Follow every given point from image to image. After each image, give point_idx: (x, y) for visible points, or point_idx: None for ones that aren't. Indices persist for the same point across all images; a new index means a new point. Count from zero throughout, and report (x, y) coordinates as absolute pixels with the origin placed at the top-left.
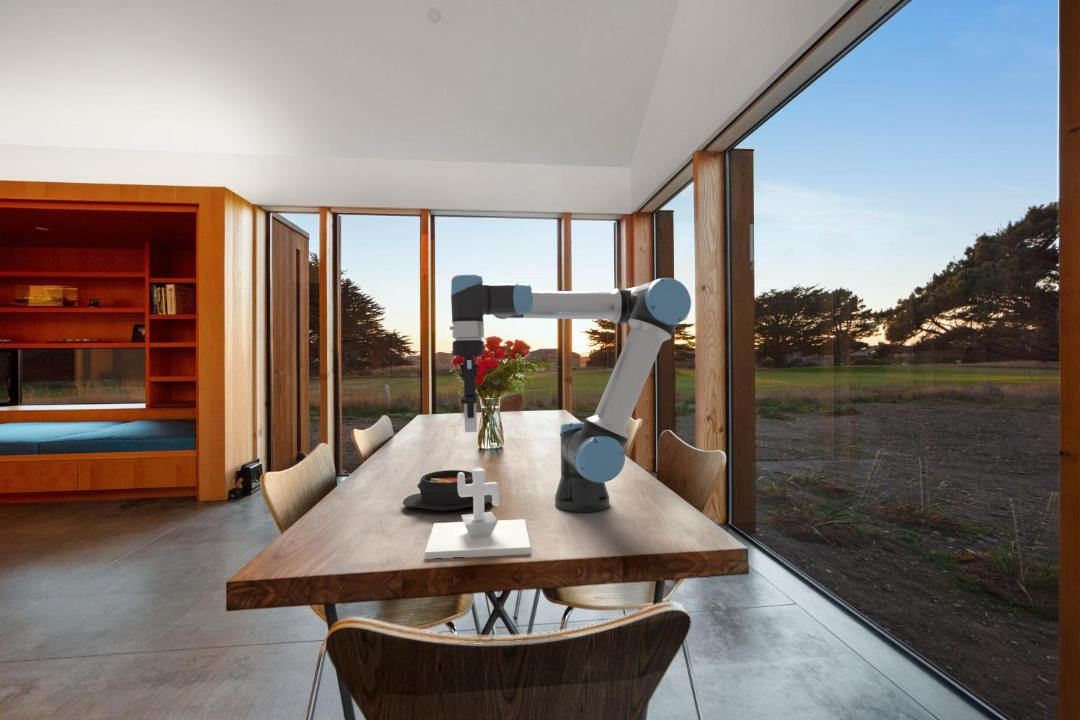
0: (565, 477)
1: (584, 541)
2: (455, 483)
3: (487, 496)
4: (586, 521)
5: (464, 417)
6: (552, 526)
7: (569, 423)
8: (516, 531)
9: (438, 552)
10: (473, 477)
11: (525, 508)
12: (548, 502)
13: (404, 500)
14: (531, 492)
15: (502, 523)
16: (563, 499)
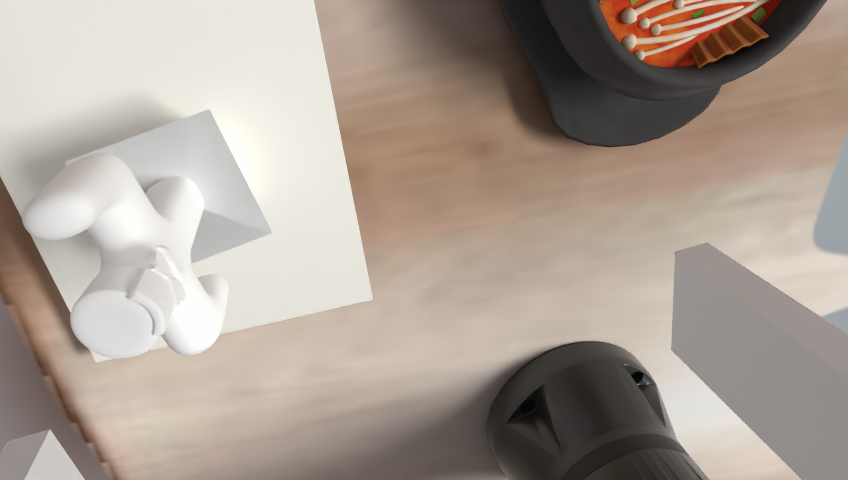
0: (582, 453)
1: (244, 456)
2: (583, 3)
3: (641, 120)
4: (412, 439)
5: (729, 290)
6: (364, 365)
7: None
8: (240, 296)
9: None
10: (93, 279)
11: (550, 259)
12: (604, 319)
13: None
14: (729, 249)
15: (322, 235)
16: (537, 393)
